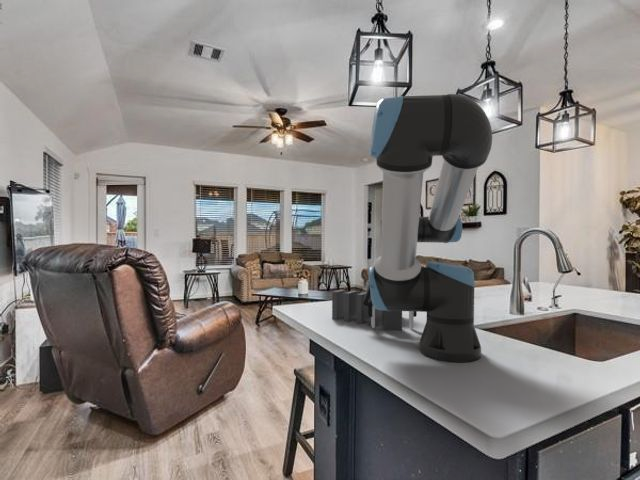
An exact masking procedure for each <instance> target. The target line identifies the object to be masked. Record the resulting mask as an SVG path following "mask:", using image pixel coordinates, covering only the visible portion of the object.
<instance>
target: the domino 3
mask: <svg viewBox="0 0 640 480" xmlns="http://www.w3.org/2000/svg"><path fill="white" fill-rule="evenodd" d="M366 292H367V291H363V292H360V293H357V294H356V319H355V321H356V322H355V323H356V324H359V325H363V324H365V323H367V322H369V316H368V306H366V305H364V304H363V303H362V301H363V299H364V296H365V294H366ZM368 302H369V301H368Z"/></svg>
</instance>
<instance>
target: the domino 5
mask: <svg viewBox="0 0 640 480" xmlns="http://www.w3.org/2000/svg"><path fill="white" fill-rule="evenodd" d="M381 329H382V330H383V331H403V311H384V310H382V323H381Z"/></svg>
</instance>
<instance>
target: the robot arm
mask: <svg viewBox="0 0 640 480" xmlns="http://www.w3.org/2000/svg"><path fill="white" fill-rule="evenodd" d="M492 129H493V128H492V125H491V123H490V119H489V117H488V116H487V113H486V112H485V110H484V109H483V108H482V107H481V106H480V105H479V103H477V102H476V101H474V100H473V99H472V98H470V97H468V96H465V95H462V94H458V93H457V94H456V93H450V94H449V93H448V94H437V95H436V94H435V95H433V94H432V95H399V96H394V97H392V96H391V97H383V98H382V99H380V100H379V101H378V102H377V104H376V107H375V111H374V116H373V122H372V129H371V135H370V136H371V139H370V145H369V147H370V148H369V156H370V157H371V158H373V159H376V163H375V164H376V166H377V168H379V169H380V170H381V172H382V195H381V196H382V201H381V203H382V204H381V205H382V207H381V214H380V256H379V257H378V258H376V259H375V261H374V265H373V266H370V267H369V268H368V279H369V280H368V281H369V284H368V288H367V289H366V291H365V292H366V294H365V296H364V299H363V301H362V303H363V304H364V305H366V306H368V316H369V317H371V326H370V327H371V328H372V329H375V328H376V326H375V308H376V309H377V310H384V311H402V312H408V327H410V328H411V329H413V328H414V322H415V321H414V318H416V317H417V314H418V313H417V312H419V313H420V312H423V313H426V321H425V324H424V327H423V330H422V334H421V336H420V339H419V352H421V354H423V355H425V356H427V357H428V358H432V359H436V360H439V361H446V362H453V363H454V362H456V363H468V362H473V361H477V360H479V359H480V358H481V357H482V346H481V343H480V340H479V336H478V333H477V330H476V327H475V288H476V282H475V273H474V271H473V270H472V269H471V268H470V267H467V266H463V265H459V264H454V263H453V264H452V263H445V262H441V261H439V262H438V261H428V262H427V263H426V266H424V267H423V266H422V265H421V262H420V261H419V260H418V258H417V246H418V243H438V244H439V243H443V244H449V243H457V242H459V241H460V240H461V239H462V233H463V222H462V218H461V217H460V214H461V212H462V210H463V208H464V204H465V201H466V199H467V197H468V194H469V191H470V189H471V187H472V184H473V182H474V179H475V177H476V174H477V172H478V169H479V168H480V167H481V166H483V165H484V164H485V163H486V162H487V160H488V158H489V155H490V152H491V150H492V144H493V130H492ZM438 156H441V157H442V159H443V161H442V165H441V170H440V174H439V177H438V180H437V185H436V188H435V191H434V192H435V193H434V196H433V200H432V203H431V208H430V211H429V215H428V216H420V213H421V203H422V202H421V201H422V193H423V181H424V173H425V172H426V171H428V170H429V169H430V168H431V167H432V165H433V158H434V157H438ZM370 296H371V300H370V301H369V298H370ZM368 301H369V302H368Z"/></svg>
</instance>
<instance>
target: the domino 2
mask: <svg viewBox="0 0 640 480" xmlns="http://www.w3.org/2000/svg"><path fill="white" fill-rule="evenodd" d="M356 294H359V293H358V290H351V291H350V290H349V291H346V293H344V318H343V322H347V323H350V322H353V321H356Z"/></svg>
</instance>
